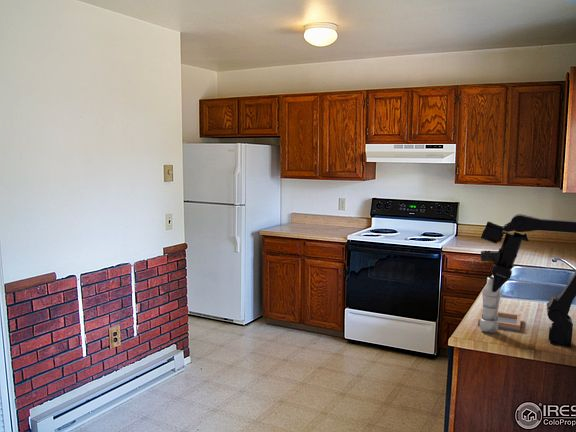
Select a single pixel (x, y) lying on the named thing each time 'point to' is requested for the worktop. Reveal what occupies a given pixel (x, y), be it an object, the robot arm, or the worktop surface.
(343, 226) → the worktop surface
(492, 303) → the silver tall hollow piece
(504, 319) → the tray
